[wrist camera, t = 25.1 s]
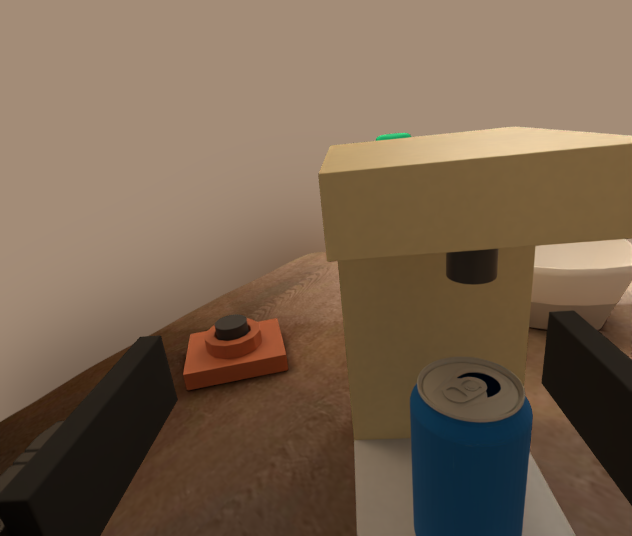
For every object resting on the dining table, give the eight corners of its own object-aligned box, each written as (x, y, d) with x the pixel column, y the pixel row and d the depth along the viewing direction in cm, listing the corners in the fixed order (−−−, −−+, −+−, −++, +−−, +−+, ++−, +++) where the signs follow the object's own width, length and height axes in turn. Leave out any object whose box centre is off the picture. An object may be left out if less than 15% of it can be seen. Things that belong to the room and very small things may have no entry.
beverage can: (543, 552, 26) (562, 391, 22) (468, 615, 23) (473, 445, 19) (462, 480, 31) (465, 341, 27) (394, 524, 28) (386, 377, 24)
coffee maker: (362, 686, 22) (308, 195, 13) (353, 414, 41) (330, 145, 32) (647, 693, 20) (808, 149, 11) (498, 408, 40) (515, 126, 31)
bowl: (481, 282, 68) (483, 226, 65) (611, 288, 61) (620, 226, 58) (477, 336, 53) (479, 266, 49) (649, 352, 46) (665, 273, 43)
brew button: (216, 344, 50) (213, 332, 50) (217, 329, 54) (215, 317, 53) (249, 338, 51) (247, 325, 50) (248, 324, 55) (246, 312, 54)
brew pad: (186, 390, 48) (179, 361, 47) (193, 347, 57) (187, 322, 56) (288, 370, 50) (284, 341, 49) (279, 331, 59) (275, 306, 58)
